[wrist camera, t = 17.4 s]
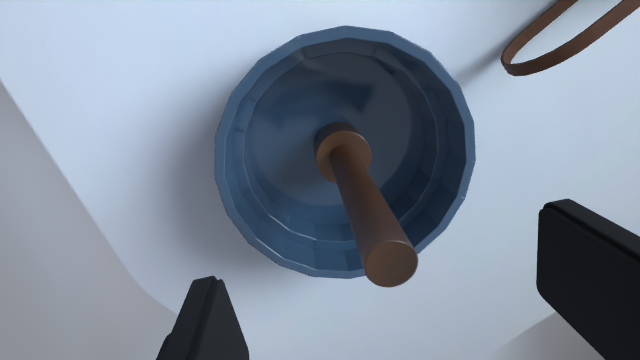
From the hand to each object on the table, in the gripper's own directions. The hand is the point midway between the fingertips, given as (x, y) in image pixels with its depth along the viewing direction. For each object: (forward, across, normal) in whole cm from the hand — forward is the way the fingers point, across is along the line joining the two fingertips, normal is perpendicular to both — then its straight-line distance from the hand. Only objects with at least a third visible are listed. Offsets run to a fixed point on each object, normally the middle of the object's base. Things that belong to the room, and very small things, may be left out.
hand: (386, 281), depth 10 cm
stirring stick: (+16, -1, 0) cm, 16 cm away
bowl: (+17, -1, 0) cm, 17 cm away
